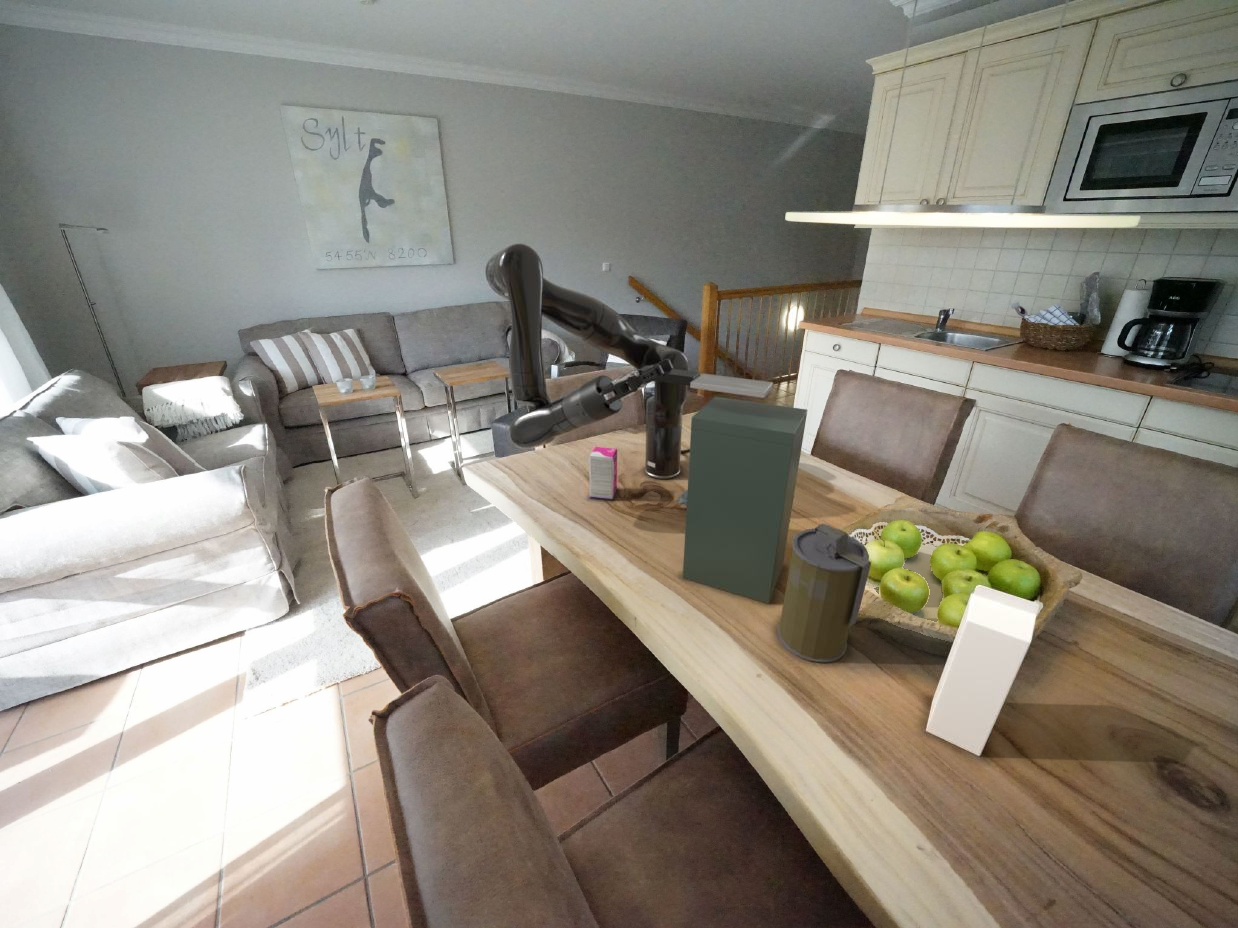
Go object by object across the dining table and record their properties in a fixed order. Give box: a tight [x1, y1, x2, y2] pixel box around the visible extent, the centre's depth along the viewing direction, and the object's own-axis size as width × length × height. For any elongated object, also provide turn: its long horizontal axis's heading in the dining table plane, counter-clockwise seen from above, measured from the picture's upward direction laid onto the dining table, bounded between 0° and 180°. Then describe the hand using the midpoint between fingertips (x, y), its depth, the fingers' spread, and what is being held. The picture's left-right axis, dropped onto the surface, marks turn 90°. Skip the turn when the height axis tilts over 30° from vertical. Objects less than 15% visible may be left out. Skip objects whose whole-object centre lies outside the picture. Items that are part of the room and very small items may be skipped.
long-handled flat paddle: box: [638, 366, 774, 399], centre depth 84 cm, size 6×22×2 cm, turn 63°
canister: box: [777, 523, 872, 663], centre depth 77 cm, size 11×10×20 cm
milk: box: [925, 584, 1041, 757], centre depth 62 cm, size 6×6×22 cm
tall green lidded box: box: [682, 396, 808, 605], centre depth 90 cm, size 12×16×32 cm
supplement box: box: [588, 446, 618, 501], centre depth 122 cm, size 6×6×12 cm
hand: (665, 367), depth 86 cm, fingers closed on long-handled flat paddle, 3 cm apart
